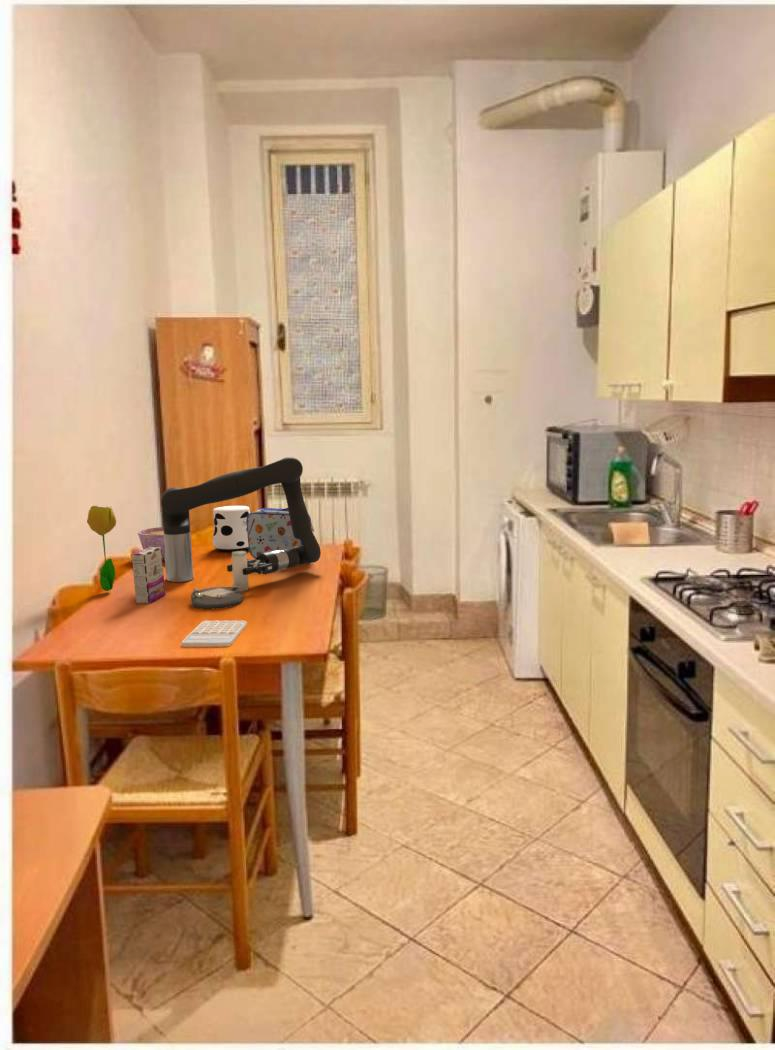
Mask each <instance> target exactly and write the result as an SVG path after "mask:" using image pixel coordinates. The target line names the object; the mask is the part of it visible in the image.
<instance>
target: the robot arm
mask: <svg viewBox="0 0 775 1050" xmlns="http://www.w3.org/2000/svg"><path fill="white" fill-rule="evenodd" d="M303 468H304V467H303V464H302V463H301V461H300V460H299V459H297V458H295V457H293V456H286V457H283V458H281V459H280V460H276V461H274V462H271V463H269V464H266V465H262V466H257V467H252V468H251V467H250V468H246V469H241V470H236V471H233V472H228V473H225V474H224V473H223V474H222V475H219V476H216V477H213V478H212V479H209V480H207V481H205V482H203V483H201V484H198V485H194V486H189V487H183V488H181V487H177V486H173V487H169V488H167V489H166V490H165V491H164V492H163V494H162V496H161V498H160V504H161V510H162V525H163V526H162V527H163V529H164V541H165V554H164V556H165V560H164V565H165V566H164V568H165V569H164V570H165V579H166V580H167V581H168V582H170V581H171V583H181V582H182V583H183V582H189V581H191V580H193V579H194V565H193V549H192V548H193V547H192V535H191V518H190V511H191V510H193V509H196V508H199V507H201V506H206V505H210V504H215V503H221V502H225V501H230V500H233V499H237V498H241V497H244V496H247V495H249V494H253V493H255V492H257V491H260V490H261V489H263V488H266V487H269V486H273V485H279V484H281V487H282V489H283V492H284V496H285V500H286V504H287V505H286V506H287V508H288V510H289V516H290V522H291V526H292V531H293V535H294V537H295V538H296V539H300V540H301V541H302V543H303V545H300V546H296V547H293V548H288V549H283V550H275V551H270V552H265V553H261V554H259V555H258V556H257V558H256V559H255V558H253V559H248V558H247V568H243V575H248V576H249V575H256V574H258V575H261V574H262V575H265V576H266V575H269V574H273V573H277V572H282V571H283V570H286V569H290V568H294V567H297V566H301V565H306V564H312V563H313V564H315V563H317V562H318V561H319V560H320V558H321V555H322V552H321V547H320V544H319V543H318V540H317V538H316V536H315V534H314V532H312V529H311V524H310V519H309V516H310V514H309V512H308V509H307V505H306V503H305V502H306V501H305V500H304V497H303V492H302V491H303V490H302V484H301V477H302V474H303V471H304V469H303ZM308 514H309V515H308ZM226 571H227V572H229V573H230V572H233V570H232V563H231V564H228V565H227V566H226Z"/></svg>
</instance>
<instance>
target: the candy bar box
mask: <svg viewBox="0 0 775 1050" xmlns="http://www.w3.org/2000/svg"><path fill="white" fill-rule="evenodd" d="M130 556H131V562H132V573H133V574H132V575H133V583H134V593H135V594H134V595H135V603H136V604H139V605H141V603H142V604H145V605H146V604H147V605H149V604H152V603H153V602H156V601H157V600H159V599H160V597H161V598H162V597H164V596H165V595H166V587H165V578H164V576H165V575H164V574H165V573H164V566H163V560H162V552H161V547H148V548H146V549H143V548H142V549H141V550H139V551H137V552H134V553H132V554H131V555H130Z"/></svg>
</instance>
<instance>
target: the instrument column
mask: <svg viewBox="0 0 775 1050" xmlns="http://www.w3.org/2000/svg"><path fill="white" fill-rule="evenodd" d="M247 559H248V554H247V551H246V550H239V551H231V564H232V570H233V571H232V581H233V582H232V586H233V585H234V584H236V585H237V588H239V589H241V590H242V592H246V591H248V590H249V588H250V587H249V574H248V575H243V568H247ZM245 590H246V591H245Z"/></svg>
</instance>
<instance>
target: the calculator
mask: <svg viewBox="0 0 775 1050" xmlns="http://www.w3.org/2000/svg"><path fill="white" fill-rule="evenodd" d="M247 626H248V622H247V621H246V620H242V619H241V620H226V619H225V620H224V619H223V620H203V621H201V622H200V623H199V624H198V625H197V626H196V627H195V628H193V630H192V631H191V632H190V633H189V634H187V636H186V637H185V638H184V639H183V640H181V647H184V648H187V647H188V648H191V647H192V648H196V647H197V648H198V647H199V648H201V647H202V648H203V647H206V648H207V647H209V648H210V647H216V648H217V647H218V648H219V647H222V648H223V646H226V647H230V646H231V644H232V645H233V643H234V642H235V641H236V640H235V639H238V637H239V636H240V635H241V633H243V631H244V630H245V629H244V628H247ZM243 629H244V630H243ZM239 634H240V635H239Z"/></svg>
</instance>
